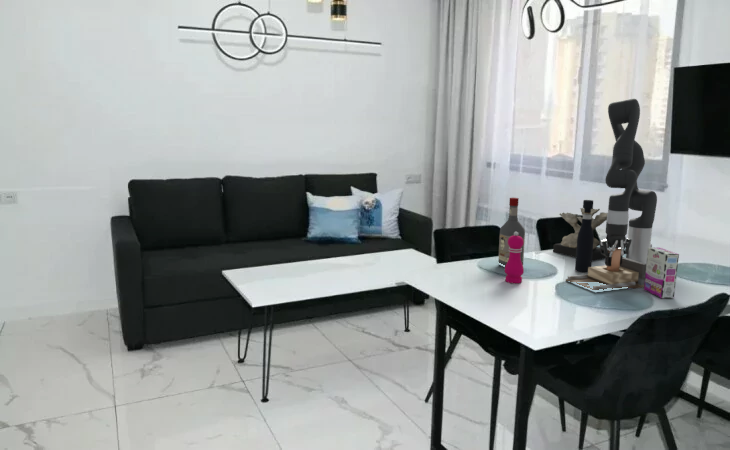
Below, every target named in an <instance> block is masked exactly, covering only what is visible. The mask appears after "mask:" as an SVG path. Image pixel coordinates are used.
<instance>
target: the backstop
mask: <svg viewBox="0 0 730 450" xmlns="http://www.w3.org/2000/svg"><path fill="white" fill-rule="evenodd" d="M646 265H647V264H645V263H641V262H638V261H635V260H631V259H628V258H626V256H625V257H624V256H623V258H622V264H621V265H620V267H623V268H626V269H629V270H632V271H636V272H639V275H638V283H637V284H635V282H626V283H618V284H609V285H600V286H593V289H592V288H590V286H587V285H589V284H588V283H577V282H598V281H595V280H593V279H590V278H588V273H585V274H578V275H570V276H569V275H568V276H567V278H566V279H565V282H566V281H570V282H576V283H577V284H579V285H582V286H584V287H587V288H590V289H592V290H599V289H603V290H604V289H607V288H612V289H613V288H622V287H628V288H633V289H639V288H640V289H641V288H644V284H645V275H646ZM599 283H601V282H599ZM633 289H632V290H633Z"/></svg>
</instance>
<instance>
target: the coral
mask: <svg viewBox="0 0 730 450" xmlns="http://www.w3.org/2000/svg"><path fill="white" fill-rule="evenodd" d="M579 209H580V212H581V215H582V216H578V214H577V213H571V212H560V213H559V214H558V215H559V216H560V217H562V219H564V221H565V222H567V224H569V225H570V226H571V227H573V229H574V233H573V232H572V233H570V234H568V235H564V236H563V237H562V239H561V240H562V241H561V242H560V243H555V244H553V247H552V248H553V249H552V250H553V251H552V252H553V253H557V254H561V255H565V256H569V257H573V258H576V249H577V237H578V233H579V230H580V228H581V225H579V224H578V221H579V222H580V223H581V224H582V219H583V214H586V213H584V210H585V209H584V208H583V207H580V208H579ZM599 211H601V210H600V208H597V209H596V208H593V209H591V219H592V224H591V226H592V230H593V231H594V230H595V229H596V228H598V227H601V225H602V224H604V223H605V222H606V221H607V213H608V212H600V213H599V214H597V213H598V212H599ZM595 214H596V215H595ZM594 215H595V217H594ZM593 217H594V218H593ZM599 241H600V240H598V239H597V238H596V237H594V242H593V254H592V262H593V261H599V260H604V259H605V255H602V254H601V251H600V245H599Z"/></svg>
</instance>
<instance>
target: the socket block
mask: <svg viewBox="0 0 730 450" xmlns="http://www.w3.org/2000/svg"><path fill="white" fill-rule="evenodd" d="M587 274H588V278H590V279H593V280H595V281H598V282H601V283H603V284H606V285H609V284H618V283H626V282H635V284H637V283H638V275H639V272H636V271H632V270H629V269H626V268H623V267H619V271H609V270H607V266H606V265H605V264H604V265H597V266H592V267H588V273H587Z"/></svg>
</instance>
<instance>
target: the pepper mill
mask: <svg viewBox="0 0 730 450" xmlns="http://www.w3.org/2000/svg"><path fill="white" fill-rule="evenodd" d="M523 244H524V245H525V242H524V241H523V238H522V237H520V236H518V232H514V235H513V236H511V237H509V239H508V245H509V246H510V247H509V251H510V255H509V260H508V262H507V264H506V266H505V268H504V273H505V274H506V276H505V278H504V279H505V283H509V284H521V283H522V282H523V275H524V269H525V268H524V264H523V265H522V262H521V258H520V254H521V252H522V248H521V247H522V246H523Z"/></svg>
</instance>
